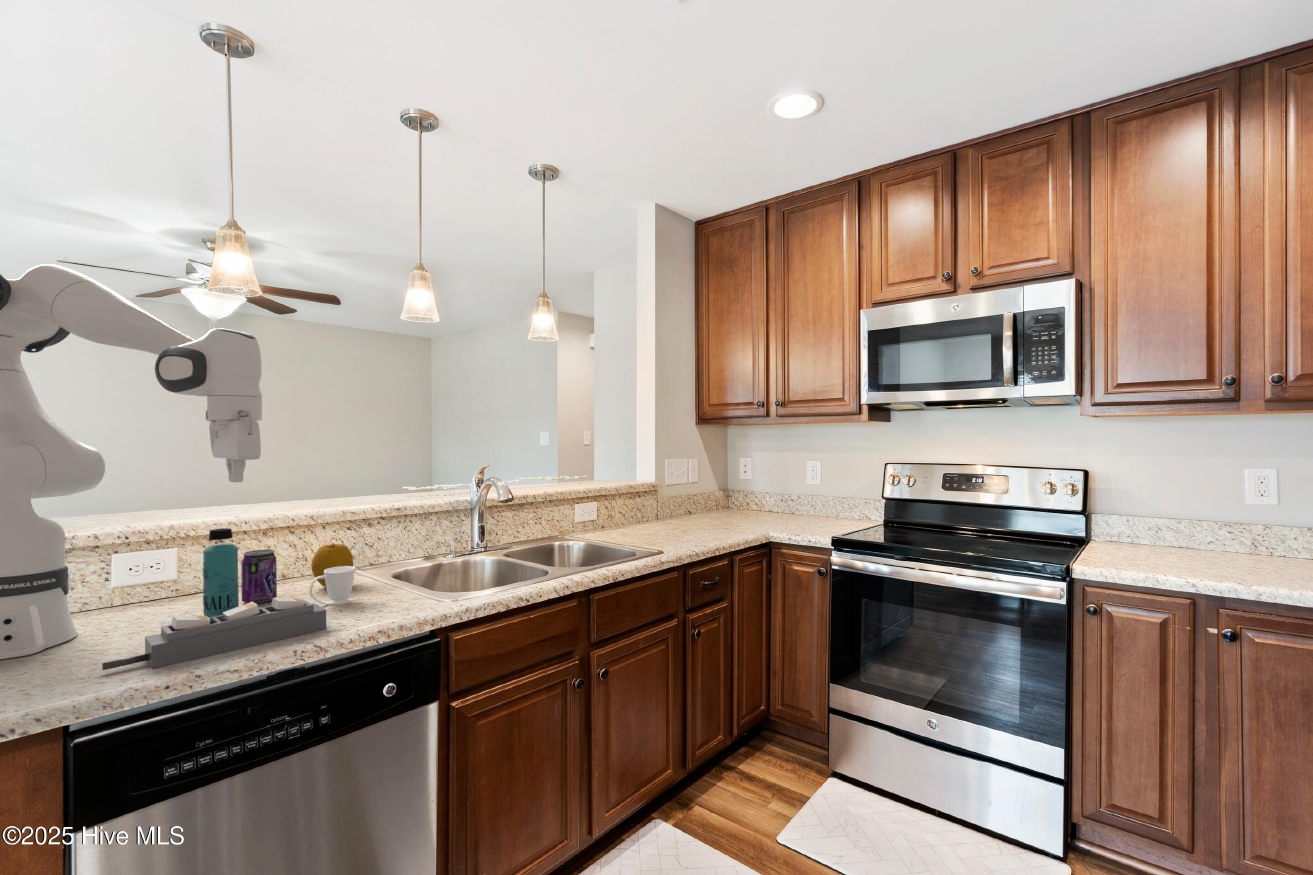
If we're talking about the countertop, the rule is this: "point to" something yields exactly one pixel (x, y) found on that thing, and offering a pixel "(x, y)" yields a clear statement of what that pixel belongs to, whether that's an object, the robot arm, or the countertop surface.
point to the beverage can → (259, 576)
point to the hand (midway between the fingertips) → (235, 481)
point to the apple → (330, 559)
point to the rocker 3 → (287, 603)
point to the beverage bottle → (220, 574)
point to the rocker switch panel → (226, 635)
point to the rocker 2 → (241, 611)
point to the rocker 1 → (189, 621)
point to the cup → (337, 584)
